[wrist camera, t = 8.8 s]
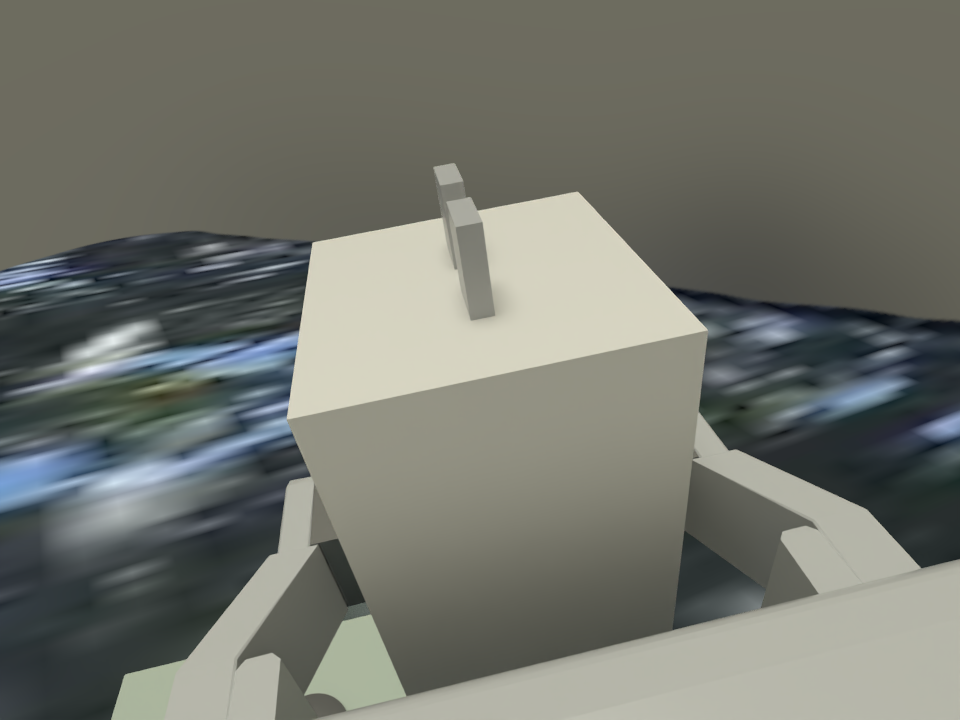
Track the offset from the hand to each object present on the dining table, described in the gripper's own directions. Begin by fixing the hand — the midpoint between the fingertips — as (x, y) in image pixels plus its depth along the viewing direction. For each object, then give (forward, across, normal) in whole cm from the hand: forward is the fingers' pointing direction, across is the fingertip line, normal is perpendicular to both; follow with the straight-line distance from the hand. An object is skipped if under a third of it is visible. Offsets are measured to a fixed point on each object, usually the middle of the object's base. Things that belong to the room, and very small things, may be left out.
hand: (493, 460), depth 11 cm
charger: (-1, 0, +6) cm, 6 cm away
